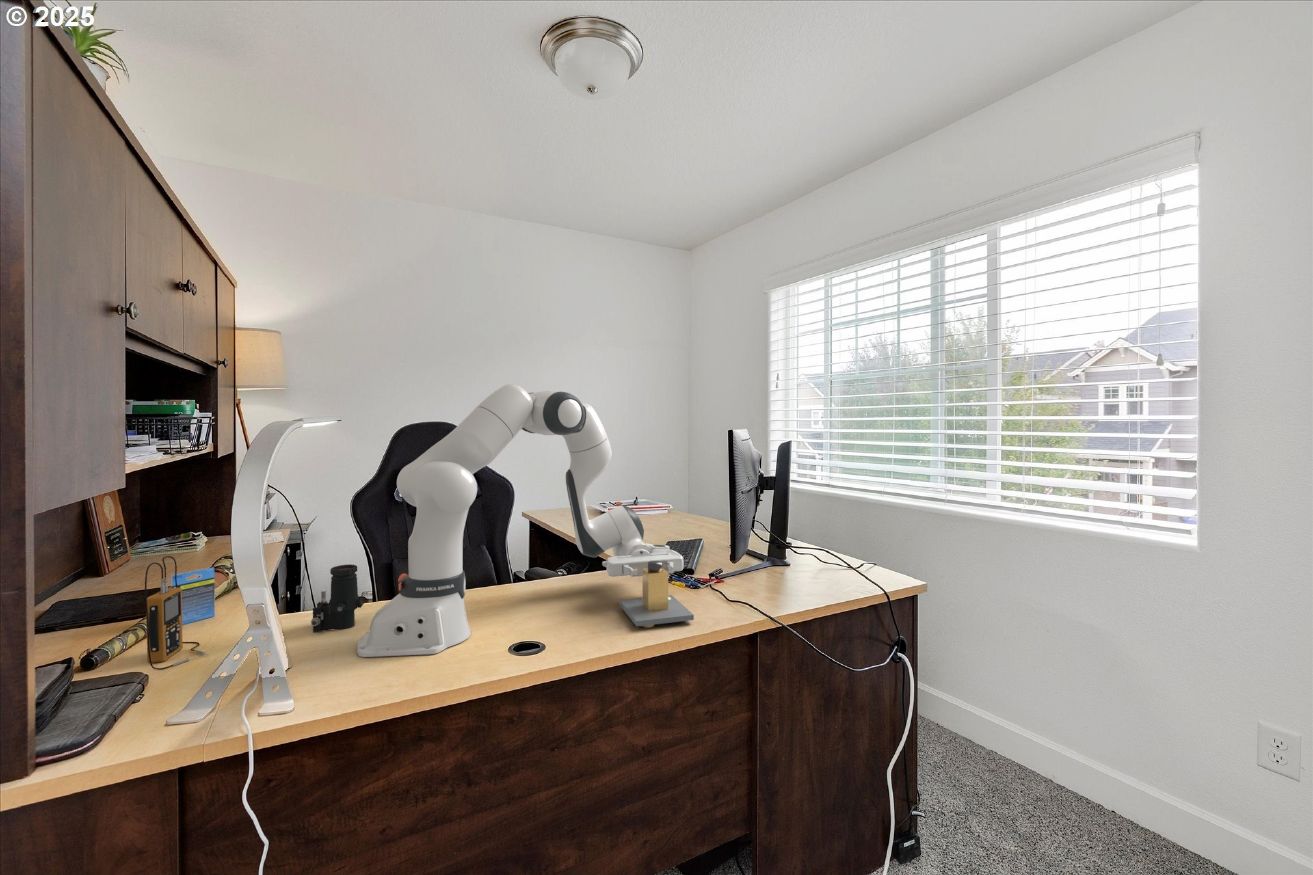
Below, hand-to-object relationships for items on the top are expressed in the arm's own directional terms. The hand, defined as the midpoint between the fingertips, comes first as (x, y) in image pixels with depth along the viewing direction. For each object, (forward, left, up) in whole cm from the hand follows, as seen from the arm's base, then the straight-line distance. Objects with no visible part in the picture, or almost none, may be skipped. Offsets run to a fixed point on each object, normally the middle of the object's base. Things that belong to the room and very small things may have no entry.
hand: (653, 571), depth 138 cm
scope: (-72, +13, -11) cm, 74 cm away
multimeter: (-98, +5, -11) cm, 99 cm away
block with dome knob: (0, -2, -8) cm, 8 cm away
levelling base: (0, -2, -10) cm, 11 cm away
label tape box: (-107, +28, -11) cm, 111 cm away
